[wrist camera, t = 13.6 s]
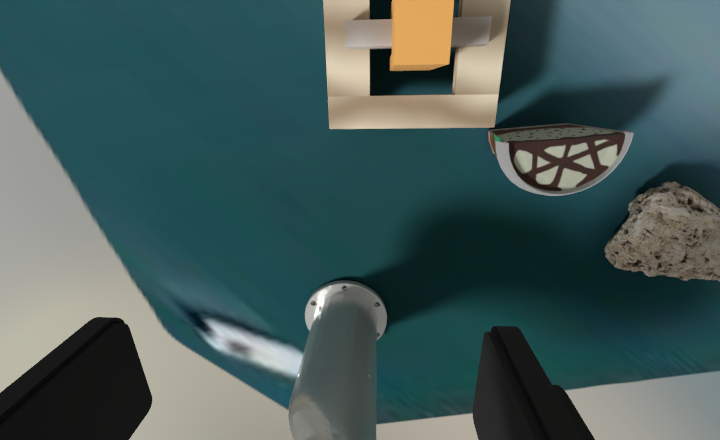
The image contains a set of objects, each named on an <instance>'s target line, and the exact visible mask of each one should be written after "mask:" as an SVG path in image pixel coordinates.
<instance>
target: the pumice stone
mask: <svg viewBox="0 0 720 440" xmlns="http://www.w3.org/2000/svg"><path fill="white" fill-rule="evenodd" d="M628 210H629V211H630V214H629V217H628V219H627V220H626V221H625V222H624V223H623V224H622V226H621V227H620V228H619V229H618V231H617V232H616V233H615V234H614V236H613V238H611V239H610V240H609V241H608V242H607V245H606V246H605V253H606V255H605V257H606V258H607V259H608V260H609V262H610V263H611V264H613V266H614V267H615V268H618V269H622V270H631V271H632V272H636V271H642V272H643V273H644V274H645V275H647V276H648V277H652V276H657V275H666V276H668V277H676V278H680V279H681V280H684V281H688V280H689V279H692V278H695V279H705V280H718V281H719V282H720V208H718V207H717V206H715V205H714V204H713V203H711V202H710V201H708V200H707V199H706V198H704V197H703V196H702V195H701V194H699V193H698V192H696V191H694V190H693V189H691V188H689V187H686V186H681V185H680V184H678V183H677V182H675V181H674V182H669V181H668V182H665V183H662V184H661V185H660V186H659V187H657V188H650V189H648V190H647V191H646V192H645V193H644V194H640V195H638V196H637V198H636V199H634V200H633V201H631V202H630V203H629V208H628Z"/></svg>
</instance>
